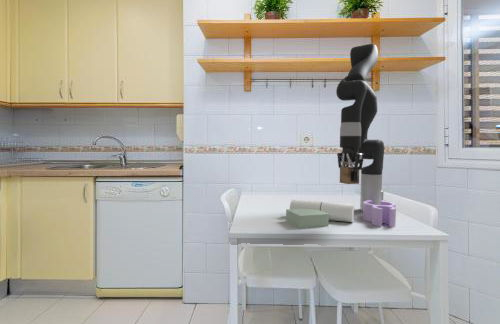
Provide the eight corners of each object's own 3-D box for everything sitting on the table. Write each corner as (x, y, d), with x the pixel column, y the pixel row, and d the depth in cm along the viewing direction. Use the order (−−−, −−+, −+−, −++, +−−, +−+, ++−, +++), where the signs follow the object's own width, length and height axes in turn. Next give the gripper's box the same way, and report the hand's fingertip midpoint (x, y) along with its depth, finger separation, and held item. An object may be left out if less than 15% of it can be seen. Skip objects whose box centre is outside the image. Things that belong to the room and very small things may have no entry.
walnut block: (351, 182, 123) (351, 166, 123) (359, 183, 118) (359, 167, 118) (339, 182, 121) (339, 166, 121) (347, 184, 117) (347, 167, 116)
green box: (312, 219, 132) (312, 207, 132) (328, 226, 121) (328, 213, 121) (286, 221, 129) (286, 209, 128) (299, 229, 117) (300, 215, 117)
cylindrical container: (289, 204, 133) (352, 209, 123) (293, 196, 139) (353, 201, 129) (290, 219, 135) (352, 225, 125) (294, 211, 141) (354, 217, 131)
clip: (403, 228, 119) (404, 209, 119) (368, 226, 121) (368, 208, 121) (390, 216, 139) (390, 200, 138) (360, 215, 141) (360, 199, 141)
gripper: (371, 134, 113) (370, 182, 114) (348, 135, 127) (347, 178, 128) (353, 134, 111) (351, 183, 112) (331, 135, 125) (330, 178, 126)
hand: (349, 180), depth 120 cm, fingers closed on walnut block, 5 cm apart
